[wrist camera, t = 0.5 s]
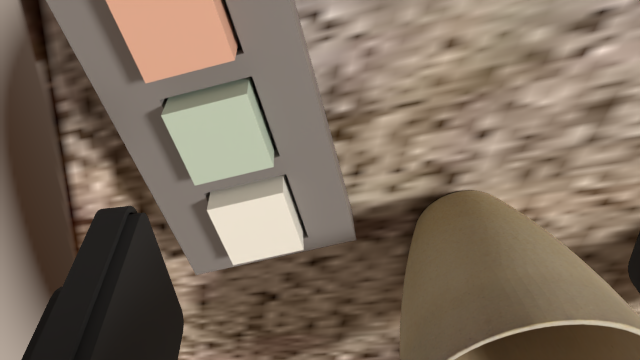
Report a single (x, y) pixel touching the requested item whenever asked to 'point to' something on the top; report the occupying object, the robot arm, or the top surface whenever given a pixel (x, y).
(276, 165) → the button panel
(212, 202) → the cream button
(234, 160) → the sage button
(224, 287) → the top surface
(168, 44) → the terracotta button
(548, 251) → the plant pot
